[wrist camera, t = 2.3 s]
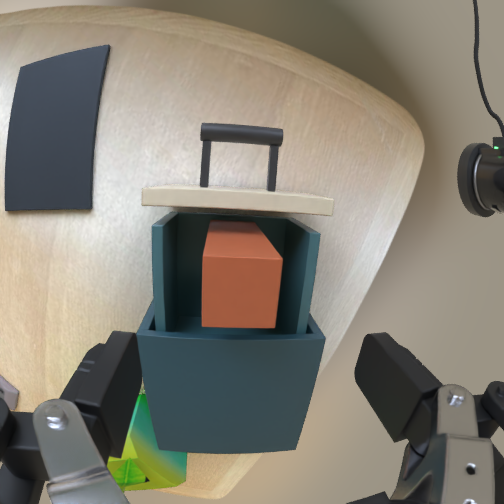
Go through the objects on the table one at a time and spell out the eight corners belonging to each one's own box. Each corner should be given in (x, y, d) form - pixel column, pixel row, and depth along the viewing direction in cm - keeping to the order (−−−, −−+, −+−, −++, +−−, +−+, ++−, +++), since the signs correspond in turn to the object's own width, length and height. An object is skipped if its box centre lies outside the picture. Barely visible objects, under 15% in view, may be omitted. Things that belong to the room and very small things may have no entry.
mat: (23, 68, 20) (20, 66, 19) (110, 46, 21) (109, 44, 21) (7, 210, 24) (4, 211, 23) (92, 208, 26) (90, 209, 25)
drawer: (168, 132, 24) (147, 114, 16) (305, 142, 26) (340, 129, 18) (165, 316, 28) (150, 363, 20) (287, 320, 30) (308, 365, 22)
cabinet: (160, 284, 28) (135, 334, 19) (294, 289, 30) (326, 337, 20) (168, 389, 32) (158, 450, 22) (278, 391, 34) (295, 449, 24)
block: (210, 219, 25) (202, 255, 14) (254, 221, 26) (283, 258, 14) (208, 262, 26) (201, 327, 15) (251, 264, 27) (275, 328, 15)
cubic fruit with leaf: (188, 432, 35) (184, 518, 20) (137, 444, 35) (123, 519, 20) (144, 384, 32) (119, 479, 17) (93, 400, 32) (60, 479, 17)
